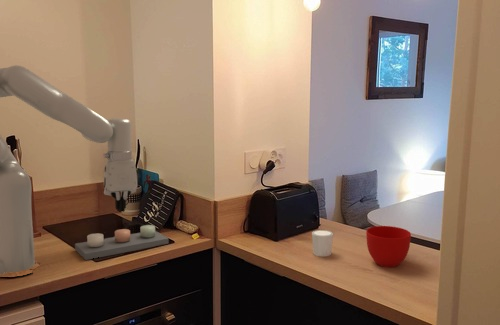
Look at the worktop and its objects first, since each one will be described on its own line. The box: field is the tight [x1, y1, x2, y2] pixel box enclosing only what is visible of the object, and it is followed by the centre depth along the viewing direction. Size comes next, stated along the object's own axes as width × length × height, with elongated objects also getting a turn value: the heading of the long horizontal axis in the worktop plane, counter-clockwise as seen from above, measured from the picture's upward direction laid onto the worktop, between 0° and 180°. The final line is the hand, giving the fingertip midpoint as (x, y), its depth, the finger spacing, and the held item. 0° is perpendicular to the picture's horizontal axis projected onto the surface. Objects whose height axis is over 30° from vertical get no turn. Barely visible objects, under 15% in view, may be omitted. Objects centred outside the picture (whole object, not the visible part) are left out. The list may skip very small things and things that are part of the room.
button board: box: [74, 230, 170, 261], centre depth 154 cm, size 28×12×2 cm, turn 125°
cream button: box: [86, 232, 105, 247], centre depth 149 cm, size 5×5×3 cm
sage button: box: [139, 224, 156, 238], centre depth 159 cm, size 5×5×3 cm
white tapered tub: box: [311, 229, 334, 257], centre depth 148 cm, size 7×7×7 cm
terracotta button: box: [114, 228, 131, 242], centre depth 154 cm, size 5×5×3 cm
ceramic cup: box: [365, 225, 412, 268], centre depth 141 cm, size 13×17×10 cm
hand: (120, 210), depth 152 cm, fingers closed
